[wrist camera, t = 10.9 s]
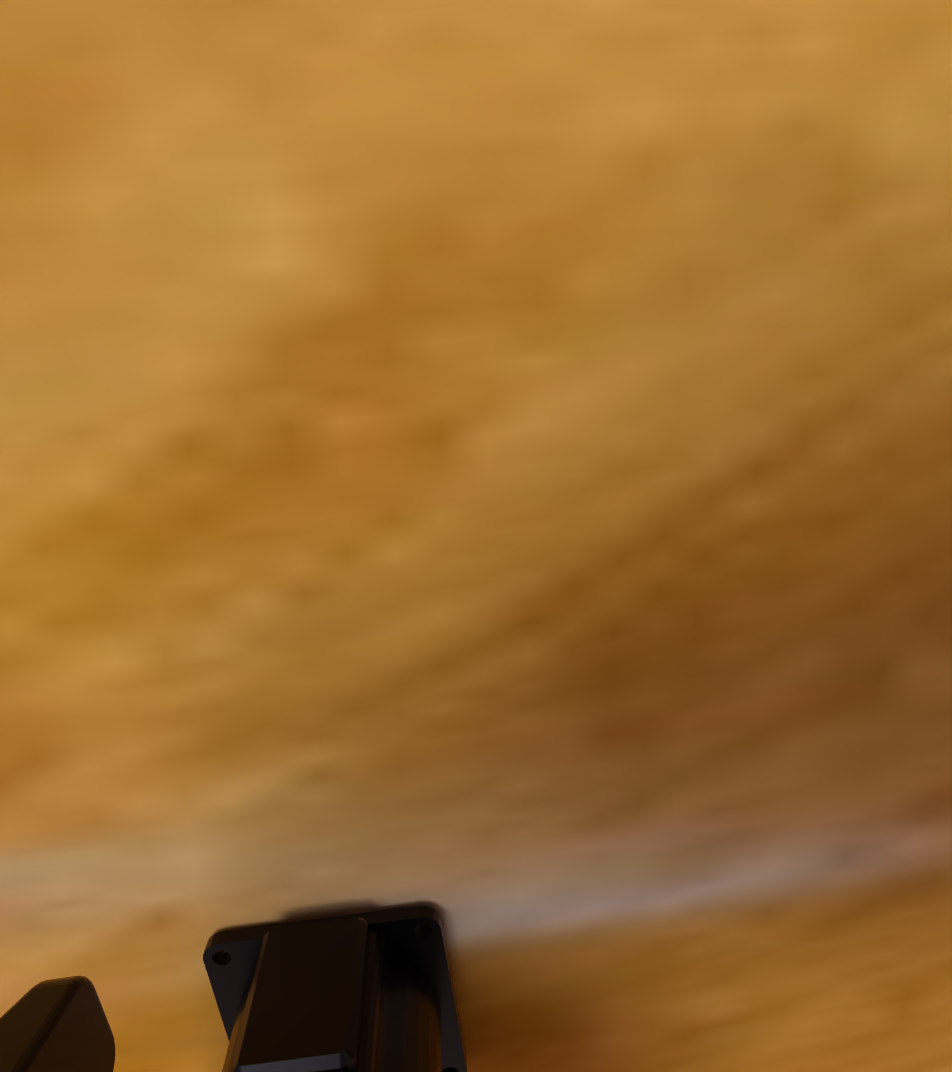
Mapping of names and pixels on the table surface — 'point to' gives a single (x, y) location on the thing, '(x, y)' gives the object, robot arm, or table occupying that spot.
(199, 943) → the table surface
